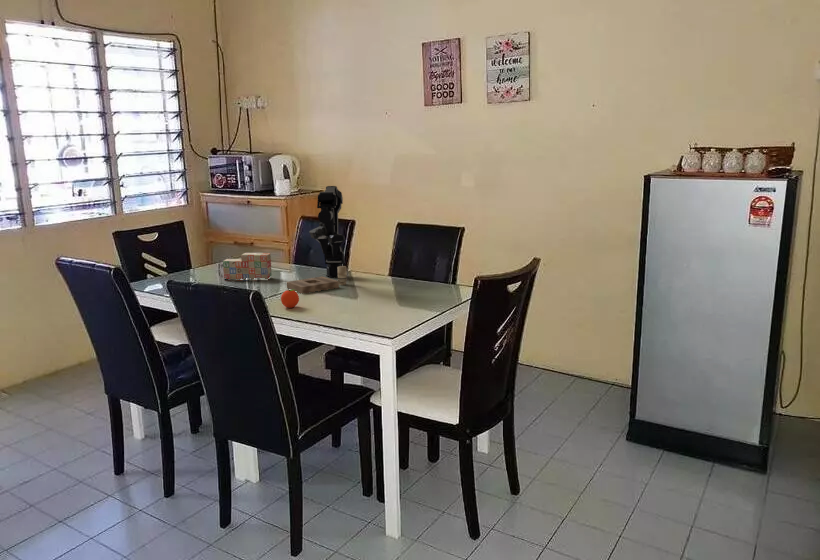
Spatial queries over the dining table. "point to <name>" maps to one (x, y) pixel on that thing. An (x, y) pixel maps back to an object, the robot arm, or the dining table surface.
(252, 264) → the stack of blocks
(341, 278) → the peg
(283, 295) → the clementine
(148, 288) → the dining table surface
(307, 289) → the board
